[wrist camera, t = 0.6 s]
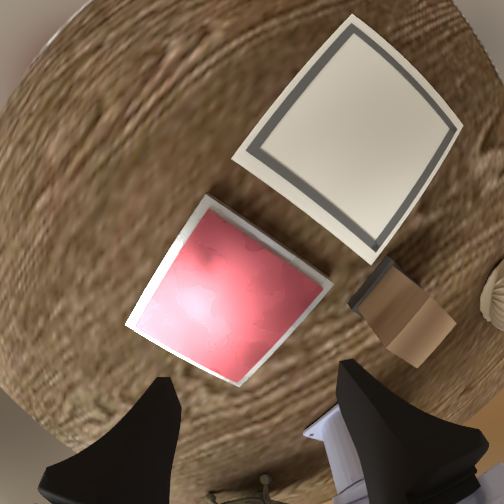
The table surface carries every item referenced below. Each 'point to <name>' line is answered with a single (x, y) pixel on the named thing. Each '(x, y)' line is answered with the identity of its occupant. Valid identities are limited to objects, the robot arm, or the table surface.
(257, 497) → the tabletop clock
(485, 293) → the decorative ornament
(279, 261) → the ink pad
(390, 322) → the stamp
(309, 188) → the paper card
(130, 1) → the table surface
